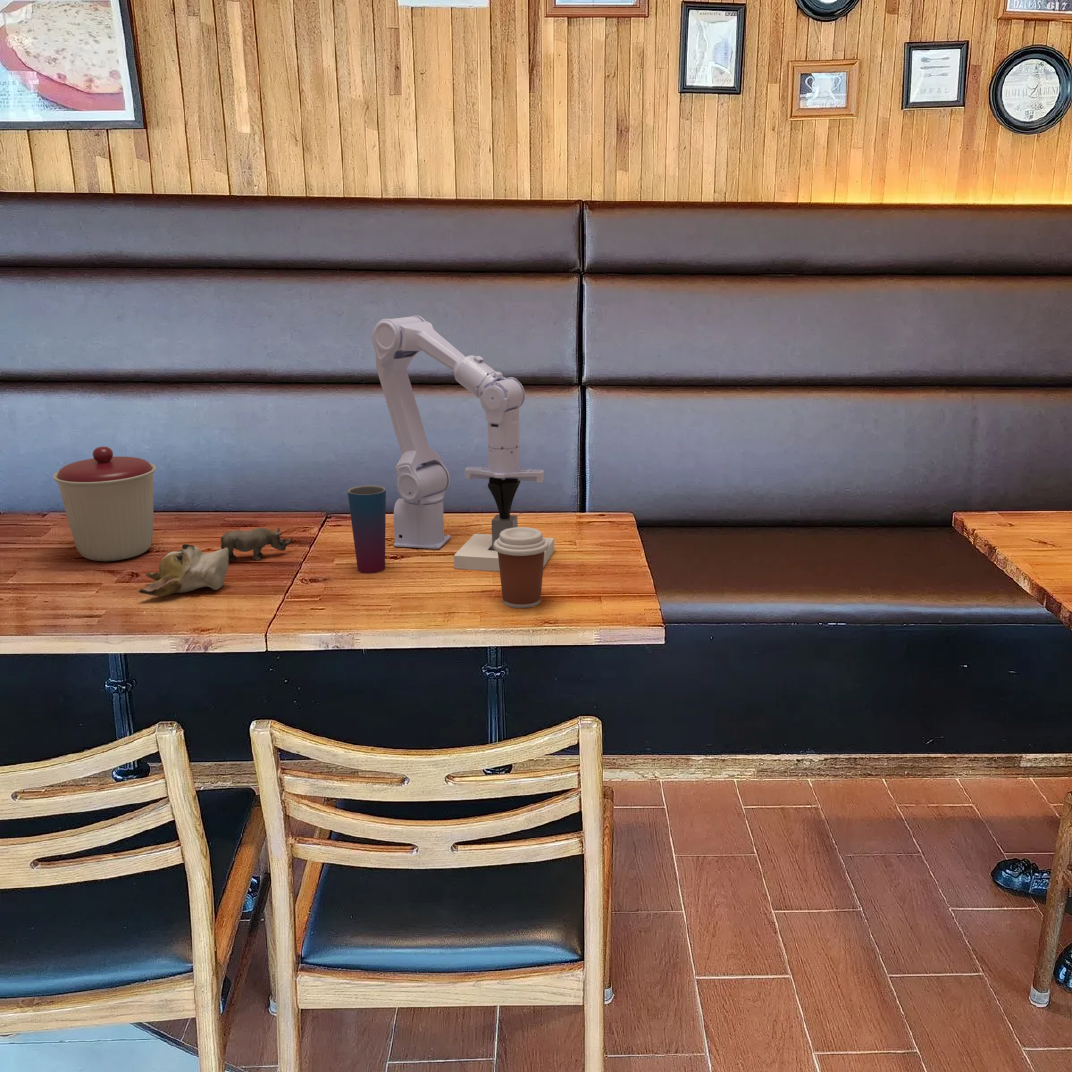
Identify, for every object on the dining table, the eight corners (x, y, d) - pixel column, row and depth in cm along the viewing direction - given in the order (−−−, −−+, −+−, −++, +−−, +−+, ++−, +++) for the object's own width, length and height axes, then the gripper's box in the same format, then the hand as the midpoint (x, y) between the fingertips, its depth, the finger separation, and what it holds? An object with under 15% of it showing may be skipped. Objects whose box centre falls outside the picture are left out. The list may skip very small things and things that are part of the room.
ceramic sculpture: (224, 547, 169) (131, 560, 166) (233, 596, 172) (141, 608, 169) (228, 530, 179) (140, 541, 176) (235, 576, 182) (149, 588, 179)
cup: (397, 565, 187) (393, 487, 183) (376, 576, 181) (371, 496, 177) (366, 560, 190) (361, 483, 185) (345, 571, 184) (339, 492, 180)
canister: (43, 562, 191) (26, 453, 184) (115, 535, 207) (101, 434, 200) (118, 573, 184) (102, 460, 178) (185, 545, 200) (173, 441, 194)
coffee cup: (509, 615, 163) (508, 544, 159) (485, 597, 171) (484, 529, 167) (558, 605, 167) (558, 536, 164) (533, 588, 175) (532, 522, 171)
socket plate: (454, 568, 185) (453, 555, 185) (474, 545, 198) (474, 533, 198) (539, 574, 182) (539, 560, 181) (554, 550, 195) (554, 538, 194)
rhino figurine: (295, 556, 193) (293, 526, 191) (221, 566, 188) (218, 535, 186) (292, 550, 196) (289, 521, 195) (219, 559, 191) (216, 529, 190)
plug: (492, 561, 188) (491, 520, 186) (497, 554, 192) (496, 514, 190) (513, 562, 188) (512, 521, 185) (517, 555, 191) (517, 515, 189)
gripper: (459, 449, 181) (461, 521, 185) (537, 452, 178) (538, 525, 182) (469, 441, 188) (471, 511, 192) (546, 444, 185) (546, 515, 189)
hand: (504, 517), depth 188 cm, fingers closed, pressing on plug
